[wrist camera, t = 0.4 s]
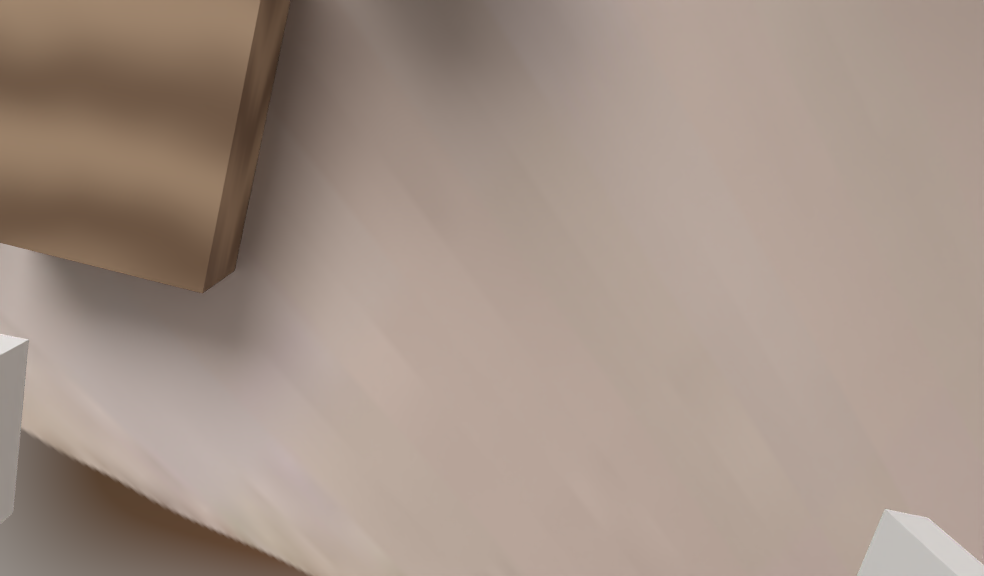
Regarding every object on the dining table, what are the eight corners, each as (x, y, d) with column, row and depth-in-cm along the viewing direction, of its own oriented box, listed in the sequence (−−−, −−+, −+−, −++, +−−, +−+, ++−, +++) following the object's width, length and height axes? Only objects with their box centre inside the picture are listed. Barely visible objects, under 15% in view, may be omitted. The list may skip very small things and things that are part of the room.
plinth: (80, -130, 31) (11, -176, 26) (304, -59, 32) (278, -91, 27) (32, 217, 34) (-37, 233, 29) (236, 269, 35) (202, 293, 30)
